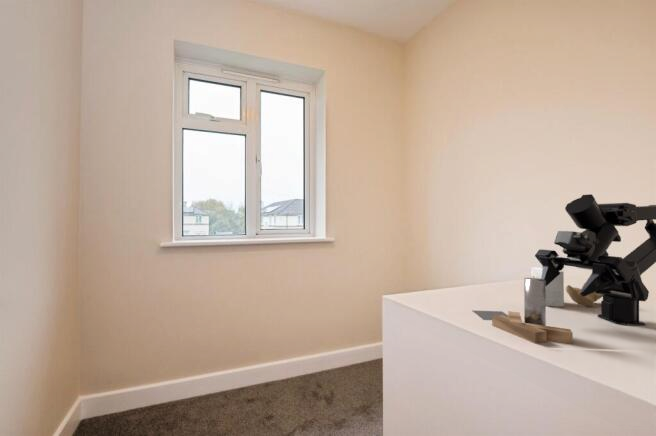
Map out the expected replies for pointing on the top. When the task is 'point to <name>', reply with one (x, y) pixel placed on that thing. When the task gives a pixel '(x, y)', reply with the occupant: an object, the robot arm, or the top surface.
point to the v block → (531, 329)
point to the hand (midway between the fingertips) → (560, 290)
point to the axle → (535, 301)
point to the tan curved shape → (579, 299)
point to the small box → (552, 288)
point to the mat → (489, 314)
